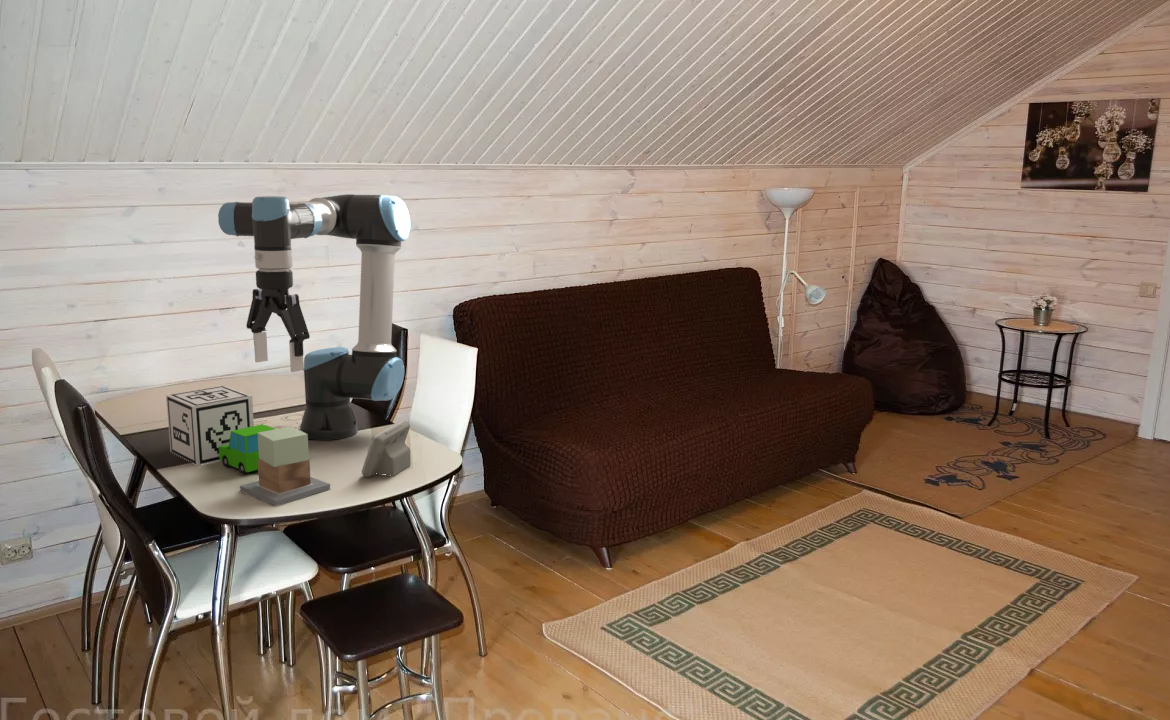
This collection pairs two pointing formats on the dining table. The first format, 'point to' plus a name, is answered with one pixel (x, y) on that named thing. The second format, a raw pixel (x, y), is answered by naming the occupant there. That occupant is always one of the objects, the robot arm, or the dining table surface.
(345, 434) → the robot arm
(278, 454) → the green block
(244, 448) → the toy car
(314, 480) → the plate
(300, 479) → the walnut block
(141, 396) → the dining table surface
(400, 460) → the digital clock
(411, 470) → the dining table surface
